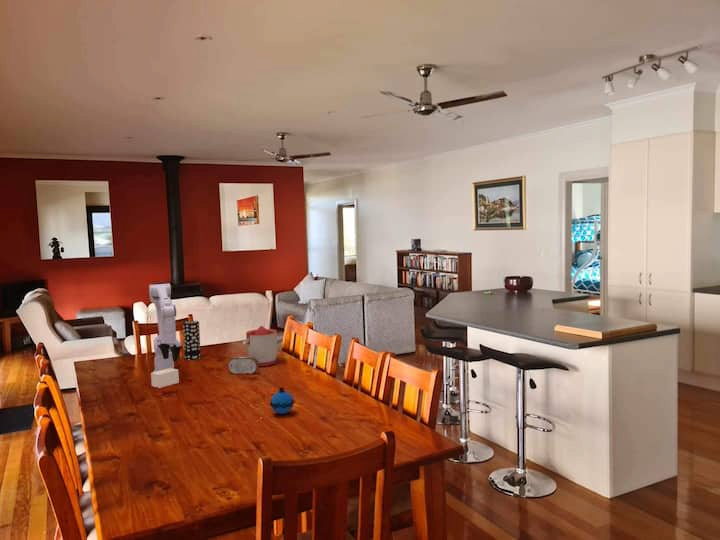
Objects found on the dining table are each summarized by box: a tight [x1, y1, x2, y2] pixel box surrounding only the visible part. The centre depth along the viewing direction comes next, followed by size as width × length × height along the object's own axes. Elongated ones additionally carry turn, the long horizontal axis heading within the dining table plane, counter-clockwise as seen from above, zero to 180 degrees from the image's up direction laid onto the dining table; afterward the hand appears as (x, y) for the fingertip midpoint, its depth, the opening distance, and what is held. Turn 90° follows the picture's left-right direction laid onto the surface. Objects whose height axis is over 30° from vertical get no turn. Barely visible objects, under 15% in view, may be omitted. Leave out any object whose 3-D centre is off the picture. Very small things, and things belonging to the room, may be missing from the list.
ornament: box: [269, 386, 295, 415], centre depth 197 cm, size 9×9×10 cm
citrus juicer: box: [242, 325, 278, 367], centre depth 271 cm, size 16×17×20 cm
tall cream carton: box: [150, 368, 180, 389], centre depth 240 cm, size 6×10×6 cm, turn 143°
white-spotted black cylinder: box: [182, 320, 202, 361], centre depth 287 cm, size 8×8×20 cm
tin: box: [227, 355, 260, 375], centre depth 254 cm, size 15×3×8 cm, turn 84°
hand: (170, 359), depth 247 cm, fingers open, 7 cm apart
